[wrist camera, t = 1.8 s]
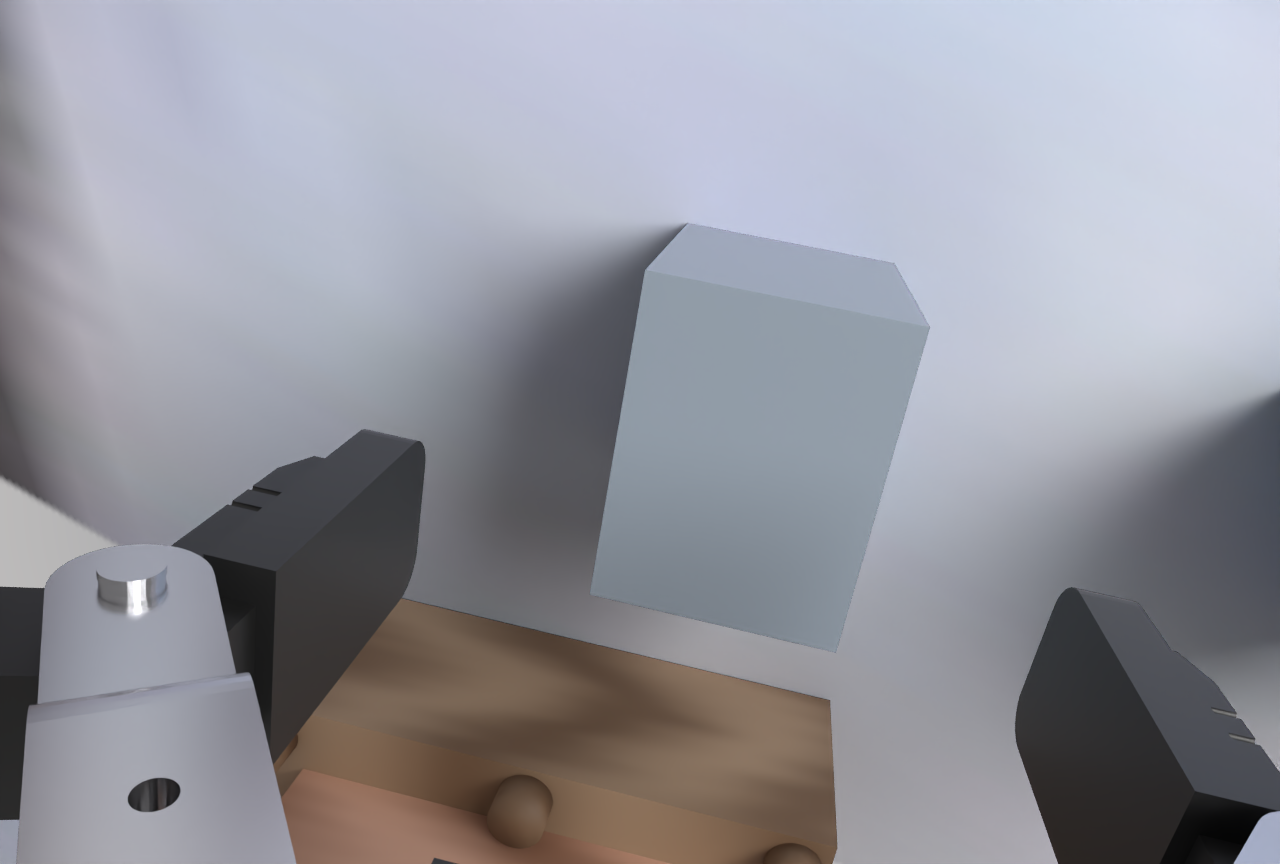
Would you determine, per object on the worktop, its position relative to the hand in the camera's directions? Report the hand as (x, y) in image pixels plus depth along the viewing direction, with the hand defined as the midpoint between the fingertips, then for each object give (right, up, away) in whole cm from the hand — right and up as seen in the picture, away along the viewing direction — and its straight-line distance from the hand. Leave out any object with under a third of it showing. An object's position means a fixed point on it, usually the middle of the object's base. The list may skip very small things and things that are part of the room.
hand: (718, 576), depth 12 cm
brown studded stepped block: (-4, -10, +15) cm, 18 cm away
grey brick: (+2, +3, +10) cm, 10 cm away
